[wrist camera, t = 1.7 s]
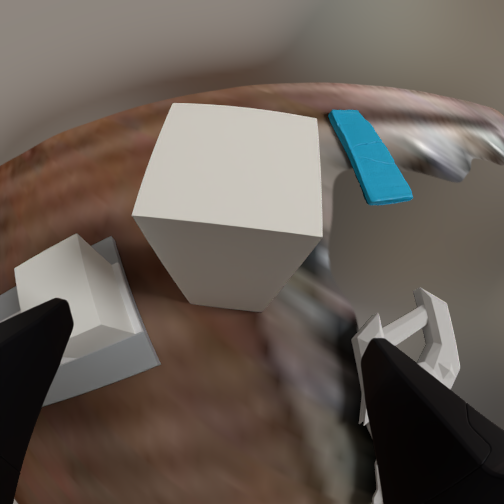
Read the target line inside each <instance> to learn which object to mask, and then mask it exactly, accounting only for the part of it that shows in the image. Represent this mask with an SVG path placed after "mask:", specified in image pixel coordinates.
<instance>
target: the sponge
mask: <svg viewBox="0 0 504 504" xmlns="http://www.w3.org/2000/svg"><path fill="white" fill-rule="evenodd" d="M328 117H329V120H330V123H331V124H332V126H333V128H334V130H335V132H336V134H337V136H338V138H339V140H340V142H341V143H342V145H343V147H344V149H345V151H346V153H347V155H348V158H349V160H350V162H351V165H352V167H353V170H354V172H355V176H356V178H357V180H358V182H359V183H360V187H361V190H362V192H363V196H364V199H365V200H366V203H367V204H368V205H377V206H378V205H386V204H392V203H394V204H395V203H400V202H407V201H410V200H411V199H412V198H413V196H412V191H411V189H410V187H409V185H408V184H407V182H406V181H405V180H404V178H403V175H402V174H401V172H400V171H399V169H398V167H397V166H396V165H395V163H394V160H393V158H392V156H391V155H390V153H389V151H388V149H387V147H386V146H385V145H384V143H382V140H381V139H380V138H379V136H378V134H377V133H376V132H375V130H374V128H373V127H372V125H371V124H370V123H369V122H368V121H366V120H365V119H364V118H363V116H362V115H361V114H360V113H359V111H357V110H332V111H331V112H330V113H329V115H328Z"/></svg>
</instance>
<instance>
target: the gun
mask: <svg viewBox="0 0 504 504" xmlns="http://www.w3.org/2000/svg"><path fill="white" fill-rule="evenodd" d="M413 293H414V297H415V301H416V304H417V308H415V309H414V310H412V311H410V312H409V313H407V314H405V315H404V316H402V317H400V318H398V319H397V320H395V321H393V322H391V323H390V324H388V325H386V326H384V327H382V325H381V321H380V317H379V313H376V314H374V315H372V316H371V317H370V318H369V320H368V321H367V322H366V323H365V324H364V325H363V327H362V328H361V329H360V330H359V331H358V332H357V333H356V334H355V336H354V337H353V338H352V339H351V341H352V345H353V350H354V355H355V360H356V365H357V370H358V376H359V381H360V387H361V393H362V396H361V407H360V416H359V424H360V423H362V422H363V421H364V425H363V426H365V425H367V428H368V430H369V433H370V435H371V437H372V434H371V429H370V424H369V420H368V415H367V410H366V404H365V396H364V387H363V379H362V371H361V358H362V356H363V354H364V352H365V350H366V348H367V346H368V344H369V342H370V340H371V339H372V338H385V339H387V340H388V341H389V342H390V343H392V344H393V345H394V346H395V345H397V344H398V343H400V342H402V341H403V340H405V339H406V338H408V337H409V336H411V335H412V334H414V333H415V332H417V331H418V330H420V329H421V328H422V329H423V333H424V338H425V342H426V345H425V347H424V349H423V351H422V353H421V355H420V357H419V359H418V362H417V364H419V365H420V366H421V367H422V368H424V369H425V370H426V371H427V372H429V373H430V374H431V375H433V376H434V377H435V378H436V379H438V380H439V381H440V382H441V383H443V384H444V385H445V386H446V387H448V388H449V389H451V387H452V385H453V383H454V381H455V379H456V377H457V374H458V372H459V370H460V363H459V357H458V351H457V346H456V341H455V336H454V331H453V327H452V323H451V318H450V314H449V311H448V307H447V303H446V302H444V301H442V300H441V299H439V298H437V297H436V296H434V295H432V294H431V293H429V292H427V291H426V290H424V289H422V288H420V287H419V288H418V289H416V290H414V291H413ZM375 475H376V488H377V489H376V491H375V493H374V495H373V497H372V504H383V498H382V491H381V484H380V478H379V472H378V466H377V460H376V461H375Z"/></svg>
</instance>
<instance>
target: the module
mask: <svg viewBox="0 0 504 504" xmlns="http://www.w3.org/2000/svg"><path fill="white" fill-rule="evenodd" d="M132 216H133V218H134V220H135V221H136V223H137V225H138V226H139V228H140V229H141V231H142V233H143V234H144V236H145V237H146V239H147V241H148V242H149V244H150V245H151V247H152V248H153V250H154V251H155V253H156V255H157V256H158V258H159V259H160V261H161V262H162V264H163V265H164V267H165V268H166V270H167V271H168V273H169V274H170V276H171V277H172V279H173V280H174V281H175V283H176V284H177V286H178V287H179V289H180V290H181V292H182V293H183V294H184V296H185V297H186V299H187V300H188V301H189V303H190V304H195V305H203V306H210V307H218V308H227V309H236V310H245V311H254V312H263V311H264V310H265V308H266V307H267V306H268V305H269V304H270V302H271V301H272V300H273V299H274V298H275V296H276V295H277V294H278V293H279V291H280V290H281V289H282V288H283V287H284V285H285V284H286V283H287V282H288V280H289V279H290V278H291V277H292V275H293V274H294V273H295V272H296V270H297V269H298V268H299V267H300V265H301V264H302V263H303V262H304V260H305V259H306V258H307V256H308V255H309V254H310V253H311V251H312V250H313V249H314V248H315V246H316V245H317V244H318V242H319V241H320V240H321V238H322V237H323V234H322V192H321V170H320V152H319V138H318V125H317V119H316V118H311V117H305V116H300V115H294V114H288V113H282V112H276V111H269V110H261V109H253V108H244V107H234V106H223V105H209V104H188V103H173V104H172V106H171V109H170V111H169V113H168V115H167V118H166V120H165V123H164V125H163V127H162V130H161V132H160V135H159V137H158V140H157V142H156V145H155V148H154V150H153V153H152V156H151V158H150V161H149V164H148V167H147V170H146V172H145V175H144V178H143V181H142V184H141V187H140V190H139V194H138V197H137V200H136V203H135V206H134V210H133V213H132Z"/></svg>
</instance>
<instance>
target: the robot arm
mask: <svg viewBox="0 0 504 504" xmlns="http://www.w3.org/2000/svg"><path fill="white" fill-rule="evenodd" d="M73 327H74V321H73V317H72V314H71V310H70V306H69V303H68V301H67V300H65V299H61V298H53V299H51V300H49V301H46V302H44V303H42V304H40V305H37V306H35V307H33V308H31V309H29V310H26V311H24V312H22V313H20V314H18V315H15V316H13V317H11V318H9V319H7V320H5V321H2V322H0V504H13V501H14V496H15V492H16V487H17V483H18V479H19V475H20V471H21V467H22V464H23V460H24V457H25V454H26V450H27V447H28V444H29V441H30V438H31V435H32V432H33V429H34V427H35V424H36V421H37V418H38V416H39V413H40V411H41V408H42V406H43V403H44V401H45V398H46V396H47V393H48V391H49V389H50V386H51V384H52V382H53V380H54V377H55V375H56V373H57V370H58V368H59V365H60V363H61V360H62V357H63V354H64V352H65V349H66V346H67V343H68V341H69V338H70V335H71V333H72V330H73ZM361 371H362V379H363V387H364V396H365V404H366V410H367V415H368V420H369V424H370V429H371V434H372V439H373V444H374V449H375V455H376V460H377V466H378V472H379V478H380V484H381V491H382V498H383V504H504V430H503V429H501V428H500V427H498V426H497V425H495V424H494V423H493V422H491V421H490V420H488V419H487V418H485V417H484V416H483V415H482V414H480V413H479V412H478V411H476V410H475V409H474V408H473V407H471V406H470V405H469V404H468V403H466V402H465V401H464V400H463V399H461V398H460V397H459V396H458V395H456V394H455V393H454V392H453V391H451V390H450V389H449V388H448V387H446V386H445V385H444V384H443V383H441V382H440V381H439V380H438V379H436V378H435V377H434V376H433V375H431V374H430V373H429V372H427V371H426V370H425V369H424V368H422V367H421V366H420V365H419V364H417V363H416V362H415V361H413V360H412V359H411V358H410V357H408V356H407V355H406V354H405V353H403V352H402V351H400V350H399V349H398V348H397V347H396V346H394V345H393V344H392V343H390V342H389V341H388V340H387V339H385V338H372V339H371V340H370V342H369V344H368V346H367V348H366V350H365V352H364V354H363V356H362V358H361Z"/></svg>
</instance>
